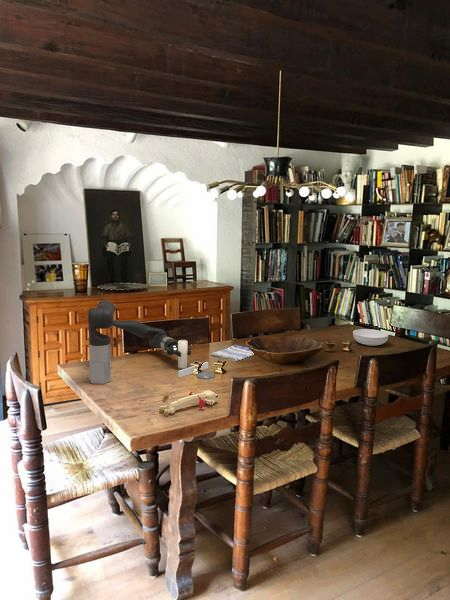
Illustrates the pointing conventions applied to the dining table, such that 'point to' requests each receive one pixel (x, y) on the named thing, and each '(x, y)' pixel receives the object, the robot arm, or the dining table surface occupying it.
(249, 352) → the dish towel
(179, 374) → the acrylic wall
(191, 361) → the dining table surface
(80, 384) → the dining table surface
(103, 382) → the robot arm
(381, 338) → the serving bowl
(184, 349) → the candle
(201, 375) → the coaster
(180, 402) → the rope dog toy
